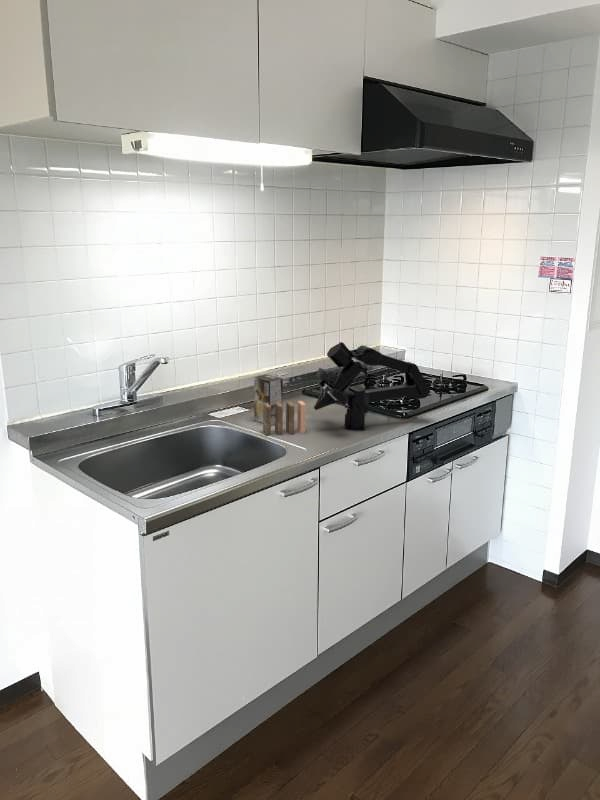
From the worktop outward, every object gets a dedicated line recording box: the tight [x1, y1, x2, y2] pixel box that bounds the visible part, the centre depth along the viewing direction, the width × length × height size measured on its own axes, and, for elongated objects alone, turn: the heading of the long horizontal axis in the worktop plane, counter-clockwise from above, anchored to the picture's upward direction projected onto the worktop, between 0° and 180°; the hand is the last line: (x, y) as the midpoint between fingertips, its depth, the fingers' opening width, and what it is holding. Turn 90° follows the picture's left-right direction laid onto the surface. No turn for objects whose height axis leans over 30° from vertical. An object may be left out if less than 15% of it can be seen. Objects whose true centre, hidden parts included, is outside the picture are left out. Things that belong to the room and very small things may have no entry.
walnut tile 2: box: [285, 401, 295, 435], centre depth 222 cm, size 2×5×10 cm, turn 15°
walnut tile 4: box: [262, 403, 272, 437], centre depth 220 cm, size 2×5×10 cm, turn 14°
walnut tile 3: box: [274, 402, 284, 436], centre depth 221 cm, size 2×5×10 cm, turn 14°
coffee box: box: [253, 374, 284, 426], centre depth 233 cm, size 9×6×16 cm
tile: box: [296, 400, 307, 434], centre depth 223 cm, size 2×5×10 cm, turn 14°
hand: (314, 409), depth 224 cm, fingers closed
